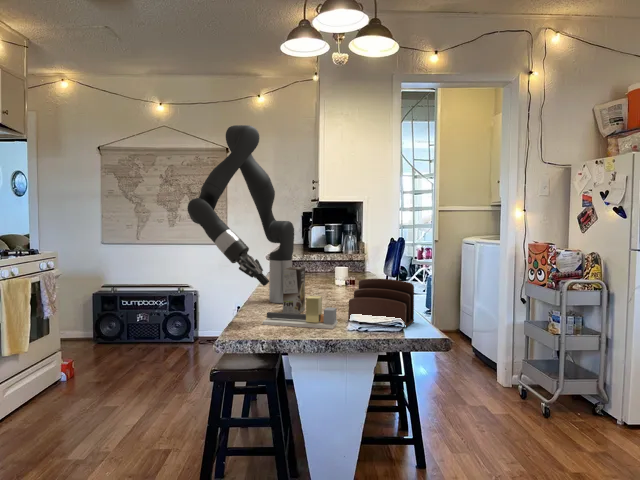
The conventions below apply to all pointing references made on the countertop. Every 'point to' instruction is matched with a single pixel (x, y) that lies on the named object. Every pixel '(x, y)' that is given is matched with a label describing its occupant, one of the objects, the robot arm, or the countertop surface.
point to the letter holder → (384, 299)
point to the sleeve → (313, 308)
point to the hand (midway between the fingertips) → (266, 283)
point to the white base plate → (302, 319)
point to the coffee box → (294, 290)
